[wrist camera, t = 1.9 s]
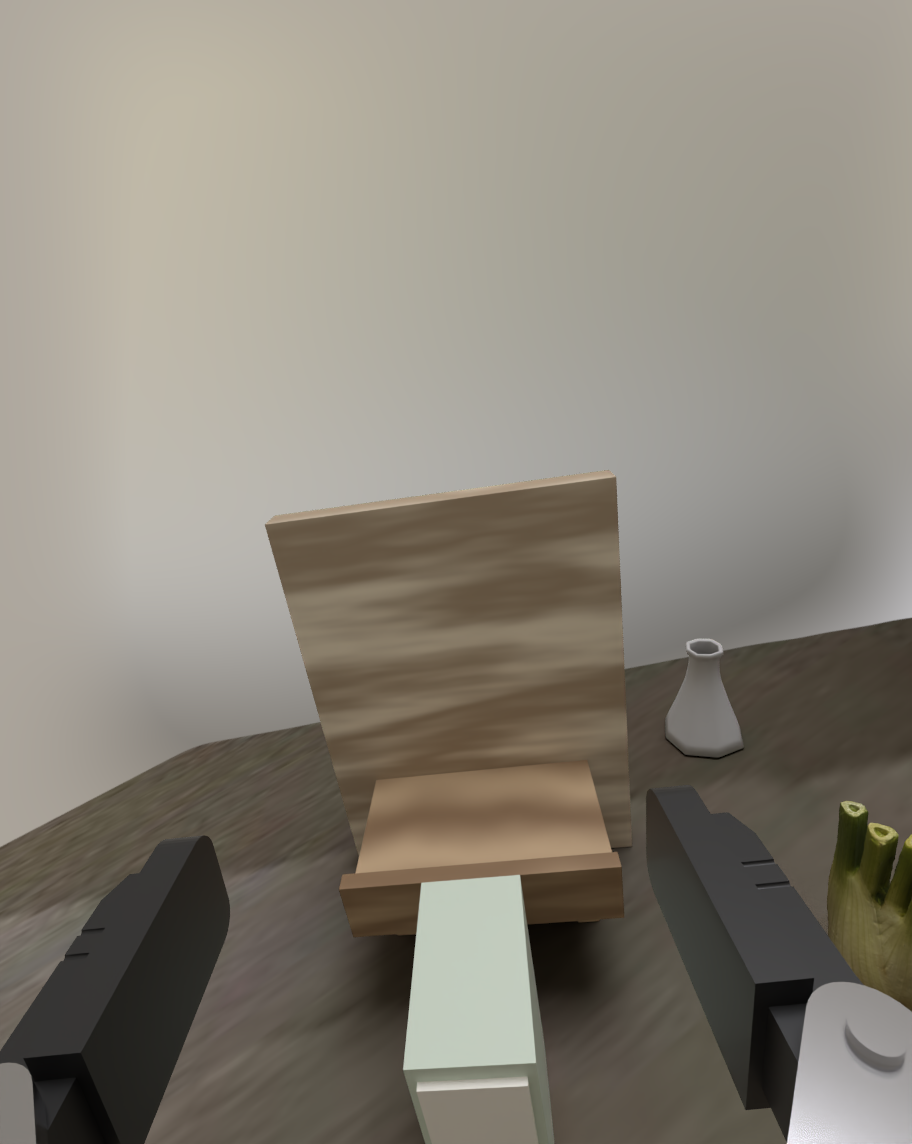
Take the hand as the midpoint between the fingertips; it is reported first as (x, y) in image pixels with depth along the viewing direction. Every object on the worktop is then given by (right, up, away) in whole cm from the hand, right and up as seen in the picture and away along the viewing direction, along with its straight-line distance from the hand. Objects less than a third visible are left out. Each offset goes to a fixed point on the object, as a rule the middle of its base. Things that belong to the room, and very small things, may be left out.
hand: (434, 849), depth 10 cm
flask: (+25, -11, +46) cm, 53 cm away
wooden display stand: (+3, -19, +34) cm, 39 cm away
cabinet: (+3, -25, +20) cm, 32 cm away
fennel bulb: (+25, -20, +24) cm, 40 cm away
